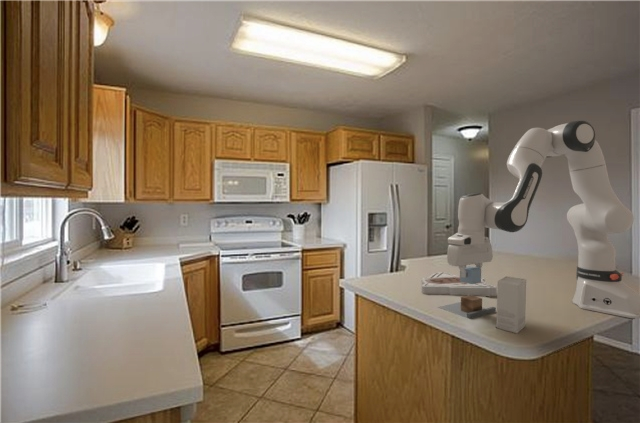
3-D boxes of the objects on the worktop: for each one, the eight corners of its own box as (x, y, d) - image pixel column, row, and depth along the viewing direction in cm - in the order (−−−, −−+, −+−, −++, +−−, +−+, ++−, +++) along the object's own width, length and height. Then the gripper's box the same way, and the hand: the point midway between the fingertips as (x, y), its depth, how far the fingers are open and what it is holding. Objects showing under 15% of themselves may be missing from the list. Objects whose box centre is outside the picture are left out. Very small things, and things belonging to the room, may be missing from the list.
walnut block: (482, 312, 122) (482, 298, 122) (472, 314, 120) (472, 300, 120) (470, 308, 127) (470, 295, 127) (460, 310, 125) (460, 296, 124)
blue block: (481, 282, 123) (481, 268, 122) (471, 284, 120) (471, 270, 120) (469, 279, 127) (469, 266, 127) (459, 281, 125) (460, 267, 124)
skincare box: (505, 321, 115) (505, 275, 114) (527, 326, 110) (527, 279, 109) (495, 328, 109) (496, 280, 108) (518, 334, 104) (519, 283, 104)
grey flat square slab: (495, 313, 123) (495, 307, 123) (469, 320, 116) (469, 314, 116) (463, 302, 135) (463, 297, 135) (437, 308, 129) (437, 303, 129)
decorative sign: (499, 298, 143) (474, 280, 172) (500, 288, 142) (474, 272, 172) (422, 296, 146) (410, 279, 176) (422, 287, 146) (410, 271, 175)
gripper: (482, 235, 131) (481, 271, 131) (444, 238, 121) (443, 277, 122) (497, 237, 125) (496, 274, 126) (458, 240, 115) (458, 281, 116)
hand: (470, 276), depth 124 cm, fingers closed on blue block, 5 cm apart
